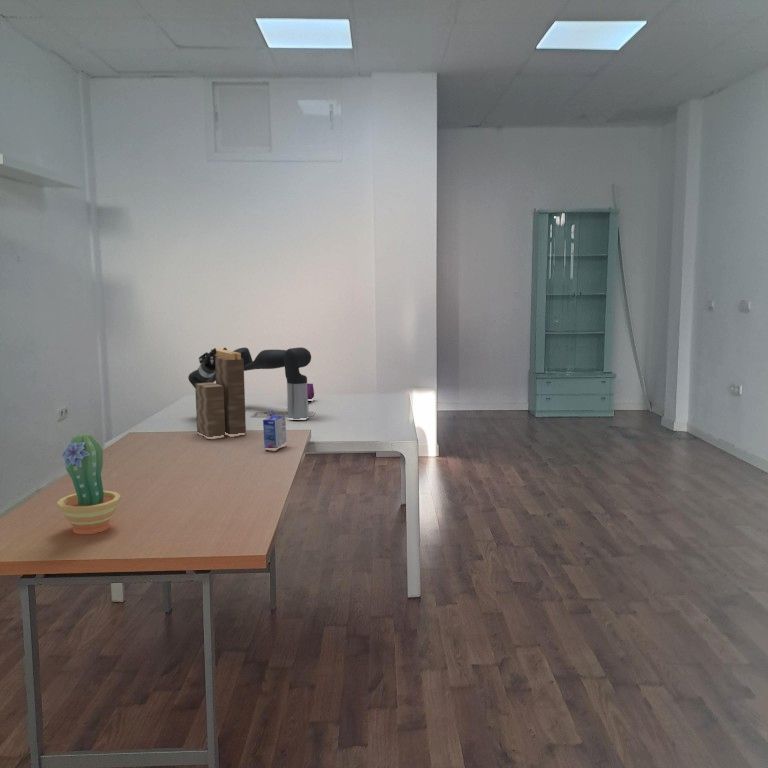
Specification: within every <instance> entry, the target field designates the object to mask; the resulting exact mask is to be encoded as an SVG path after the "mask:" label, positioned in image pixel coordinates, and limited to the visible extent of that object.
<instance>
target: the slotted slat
mask: <svg viewBox="0 0 768 768" xmlns="http://www.w3.org/2000/svg"><path fill="white" fill-rule="evenodd" d="M213 349H214V348H211V349H210V352H211V351H212V350H213ZM223 349H224V348H216V354H215V356H217V357H221V358H225V359H229V360H235V359H237V360H240V359H241V353H237V352H233V350H232V351H231V350H228V349H227V350H223Z"/></svg>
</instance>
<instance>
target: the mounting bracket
mask: <svg viewBox="0 0 768 768" xmlns="http://www.w3.org/2000/svg"><path fill="white" fill-rule="evenodd" d="M313 397H314V398H315V389H314V384H313V383H307V398H308V399H312V398H313Z"/></svg>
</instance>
